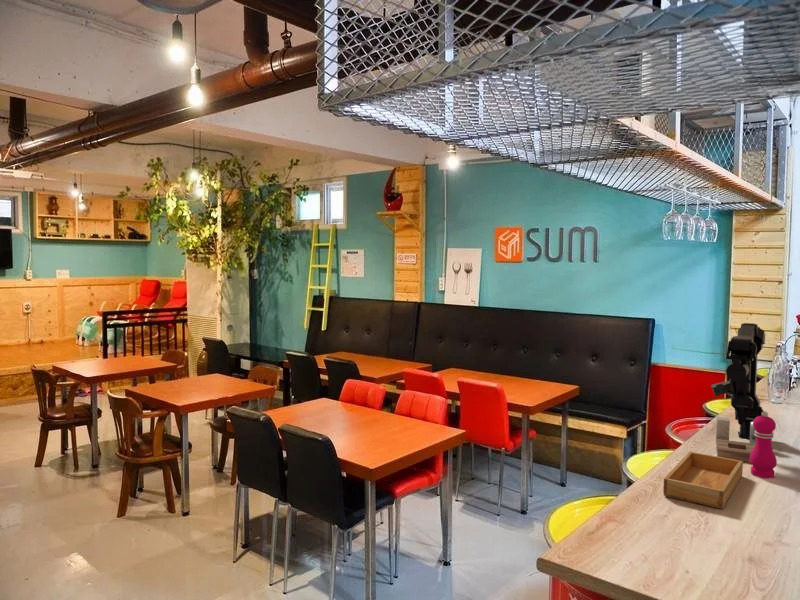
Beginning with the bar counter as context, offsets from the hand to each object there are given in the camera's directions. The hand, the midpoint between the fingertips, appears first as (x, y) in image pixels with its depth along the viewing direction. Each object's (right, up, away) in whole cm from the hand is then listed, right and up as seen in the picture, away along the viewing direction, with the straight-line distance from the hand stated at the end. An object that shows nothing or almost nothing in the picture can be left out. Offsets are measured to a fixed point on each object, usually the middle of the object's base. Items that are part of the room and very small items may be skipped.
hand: (739, 420), depth 199 cm
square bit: (+2, -11, +14) cm, 17 cm away
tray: (-25, -15, -25) cm, 38 cm away
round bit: (+11, -11, +9) cm, 18 cm away
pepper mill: (-2, -14, -17) cm, 22 cm away
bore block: (0, -12, +1) cm, 12 cm away
